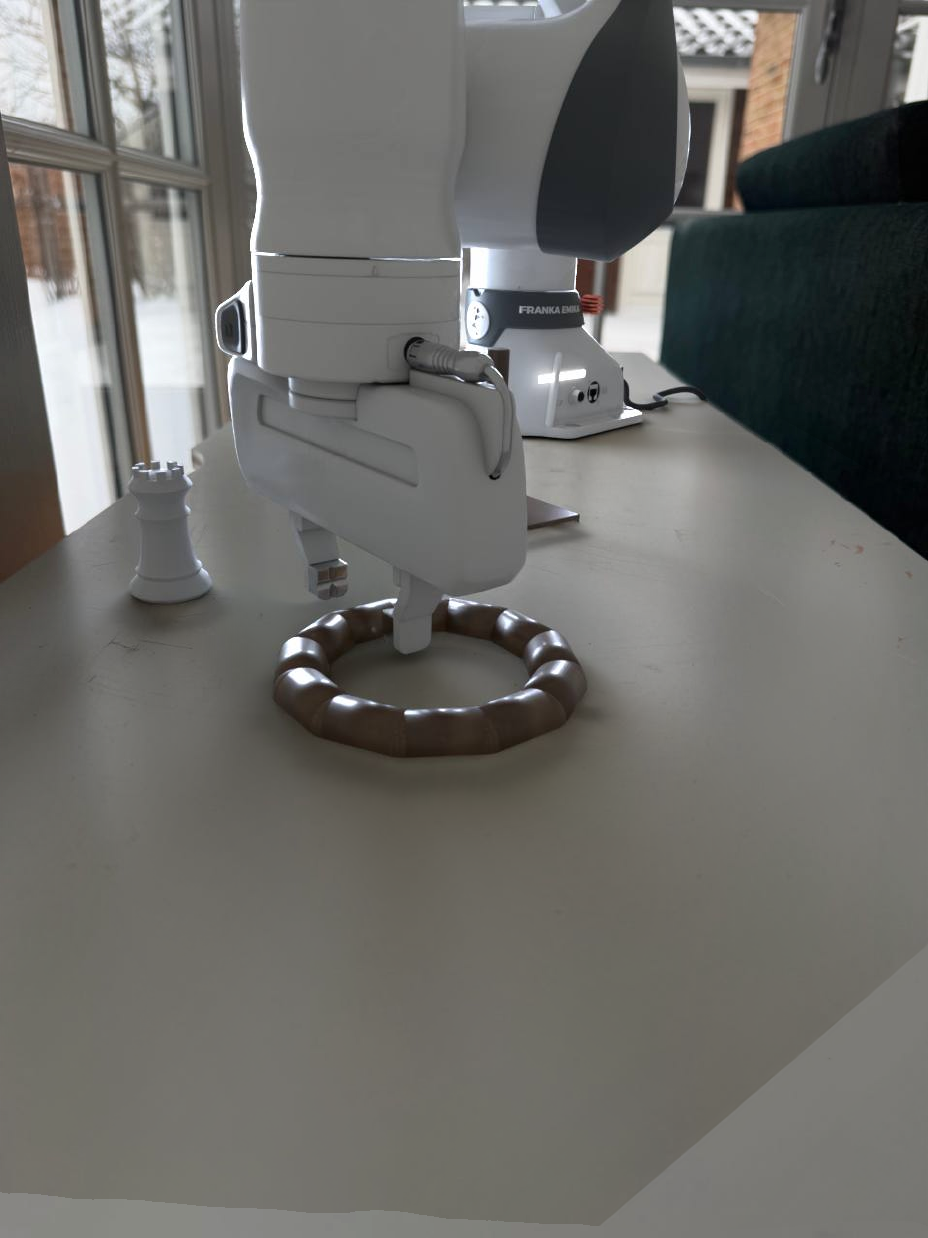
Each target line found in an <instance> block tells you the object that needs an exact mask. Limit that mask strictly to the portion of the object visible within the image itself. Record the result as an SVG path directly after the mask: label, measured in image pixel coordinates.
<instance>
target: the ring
mask: <svg viewBox="0 0 928 1238" xmlns="http://www.w3.org/2000/svg"><path fill="white" fill-rule="evenodd" d="M396 601H397V598H385V599H384V598H383V599H381V600H376V601H373V602H369V603H365V604H361V605H356V606H352V607H349V608H345V609H340V610H336V611H332V612H328V613H326V614H325V615H323V616H321V617H320V618H318V619H317V620H315V621H314V622H313V623H311V624H310V625H308V626H307V627H306V628H304V629H302V630H301V631H300V632H298V633H296V634H295V635H293V636H292V637H291V638H290V639H288V640H286V642H284V644H283V645H281V647H280V650H278V655H277V659H276V666H275V673H274V677H273V678H274V679H273V686H272V699H273V700H274V702H275V703H277V705H279V706H280V707H281V708H282V709H283V710H284V711H285V712H287V713H288V714H289V715H290V716H291V717H292V718H293V719H294V720H295V721H297V722H298V723H299V724H300V725H301V726H302V727H303V728H304V729H305V730H306V731H307V732H309V733H310V734H311V735H313V736H314V737H316V738H320V739H322V740H327V741H332V742H334V743H338V744H342V745H346V746H349V747H353V748H357V749H361V750H365V751H369V752H373V753H376V754H380V755H383V756H387V757H391V758H398V759H411V758H412V759H413V758H415V759H417V758H436V757H457V756H458V757H461V756H462V757H463V756H482V755H483V756H484V755H492V754H498V753H500V752H502V751H505V750H507V749H511V748H513V747H516V746H518V745H520V744H522V743H523V744H524V743H525V742H527V741H528V742H529V741H531V740H533V739H536V738H538V737H540V736H543V735H546V734H548V733H551V732H553V731H555V730H558V729H560V728H562V727H564V725H565V724H566V723H567V722H568V720H569V719H570V718H571V715H572V714H573V712H574V711H575V709H576V708H577V706H578V704H579V703H580V701H581V700H582V698H583V697H584V695H585V693H586V692H587V690H588V680H587V677H586V673H585V671H584V669H583V668H582V666H581V664H580V662H579V660H578V658H577V656H576V655H575V653H574V651H573V649H572V647H571V645H570V644H569V642H568V640H567V639H566V637H565V636H563V634H561V633H560V632H559V631H557V630H554V629H552V628H550V627H548V626H547V625H545V624H543V623H541V622H539V621H537V620H536V619H533V618H531V617H529V616H528V615H525V614H523V613H522V612H519V611H517V610H515V609H512V608H509V607H503V606H498V605H493V604H487V603H482V602H477V601H472V600H467V599H461V598H457V597H442V598H441V600H440V602H439V604H438V606H437V607H436V609H435V611H434V613H432V624H431V633H444V632H446V633H450V634H455V635H460V636H465V637H470V638H475V639H479V640H485V641H489V642H491V643H493V644H495V645H496V646H499V647H501V648H502V649H504V650H506V651H508V652H509V653H510V654H513V655H514V656H516V657H518V658H519V659H521V660H522V661H523V665H524V667H525V669H526V671H527V674H528V676H529V680H528V681H527V682H526V683H525V684H524V686H522V689H521V690H520V691H517V692H514V693H511V694H507V695H506V696H502V697H500V698H497V699H494V700H490V701H489V702H485V703H483V704H480V705H477V706H466V707H465V706H463V707H462V706H461V707H437V708H436V707H434V708H409V709H408V708H403V707H400V706H399V707H398V706H395V705H390V704H386V703H382V702H379V701H374V700H370V699H366V698H361V697H359V696H354V695H350V694H349V693H347V692H346V690H344V689H342V688H341V687H340V686H338V685H337V684H336V683H335V682H333V681H332V680H331V679H330V677H331V664H333V663H334V662H335V661H337V660H338V659H339V658H341V656H343V655H344V654H345V653H346V652H347V653H348V651H349V650H351V649H352V648H353V647H354V646H356V645H359V644H362V643H366V642H369V641H373V640H376V639H381V638H383V630H384V627H383V624H382V611H383V610H387V609H390V608H394V607H395V604H396Z"/></svg>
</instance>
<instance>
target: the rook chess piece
mask: <svg viewBox="0 0 928 1238" xmlns="http://www.w3.org/2000/svg"><path fill="white" fill-rule="evenodd" d="M149 463H150V465H149V466H150V469H148V470H147V468H146V463H144V462H139V463H135V464H134V466H132V467H131V470H132V471H131V472H132V476H131V478H130V480H129V481H128V483H126V484H127V485H126V488H127V490H128V492H130V493H131V494H132V495H133V496H134V498H135V499H136V500H137V503H138V508H137V510H136V511H135V513H134V515H135V517H136V519H138V520H139V527H140V556H139V562H138V565H137V566H136V567H135V571H136V574H135V576H134V577H132V579H131V580H130V582H129V592H130V595H132V596H133V597H134V598H136V599H138V600H139V601H140V602H145V603H150V604H158V605H159V604H161V605H162V604H164V605H165V604H168V605H169V604H176V603H177V604H178V603H185V602H189V601H192V600H195V599H198V598H200V597H201V596H203V595H205V594H207V593H208V591H209V590H210V588H211V587H212V585H213V582H212V579H211V577H210V575H209V573H208V571H207V570H206V569H204V568H203V563H202V562H201V560H199V559H198V558H197V555H196V553H195V549H194V545H193V541H192V537H191V534H190V533H191V532H190V529H189V515H190V514H191V512H192V510H191V509H190V508H189V506H187V504H186V503H187V502H186V495H187V493H188V492H189V491H190V489H191V488H192V486H193V485H194V484H193V482H192V480H191V479H190V478H189V477H188V476H187V475H186V474H185V469H184V464H183V463H178V461H175V460H168V461H166V468H161V460H150V461H149Z"/></svg>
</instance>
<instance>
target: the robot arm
mask: <svg viewBox="0 0 928 1238" xmlns="http://www.w3.org/2000/svg"><path fill="white" fill-rule="evenodd" d="M536 1H537V2H538V4H536V5H494V4H493V5H492V4H491V5H490V4H489V5H487V4H486V5H484V4H482V5H481V4H478V5H477V4H471V5H470V4H469V5H468V4H467V5H465V0H239V63H240V66H239V67H240V93H241V109H242V110H241V111H242V112H241V113H242V126H243V134H244V139H245V142H246V146H247V149H248V152H249V155H250V158H251V161H252V165H253V168H254V173H255V174H254V175H255V179H256V192H257V199H256V211H255V218H254V222H253V227H252V231H251V237H250V252H251V253H250V254H251V257H250V258H251V270H252V271H251V275H252V279H251V280H249V281H247V282H246V283H245V284H244V286H243V287H242V288H241V289H240V290H239V291H237V293H236V294H234V295H233V296H231V297H230V298H229V299H226V301H224V302H223V303H221V304H219V306H218V307H217V309H216V311H215V331H216V332H215V333H216V340H217V345H218V347H219V349H220V350H221V351H222V352H223V353H226V354H228V355H231V356H232V358H231V359H230V362H229V363H228V370H227V385H228V399H229V407H230V408H229V409H230V417H231V426H232V432H233V433H232V434H233V441H234V449H235V453H236V459H237V463H238V466H239V470H240V471H241V474H242V477H243V478H244V482H245V483H246V485H247V487H248V488H249V489H250V490H251V491H254V492H255V493H258V494H259V495H261V496H263V497H265V498H267V499H269V500H270V501H273V502H275V503H276V504H278V505H280V506H281V507H283V508H286V509H287V510H288V513H289V515H288V516H289V528H290V530H291V533H292V535H293V538H294V541H295V545H296V547H297V549H298V552H299V555H300V558H301V560H302V562H303V573H304V574H303V575H304V587H305V590H306V591H308V592H309V593H311V594H312V595H313V596H315V597H317V598H318V599H320V600H321V601H328V600H331V599H335V598H340V597H344V595H346V594H347V591H348V589H349V582H348V580H347V578H348V576H349V575H348V563H347V562H345V561H344V560H342V559H341V557H340V553H339V548H338V543H337V539H336V537H339V538H340V539H343V540H344V541H346V542H348V543H350V544H352V545H354V546H356V547H358V548H359V549H361V550H363V551H365V552H367V553H369V554H371V555H372V556H374V557H376V558H378V559H379V560H381V561H384V562H385V563H386V564H389V565H391V566H392V582H393V584H394V586H396V587H397V588H400V589H399V592H398V595H397V598H396V599H397V601H396V604H395V607H394V608H390V609H387V610H383V611H382V624H383V627H384V630H383V637H382V639H383V641H384V642H385V643H386V644H388V645H389V646H391V647H392V648H393V649H395V650H397V652H399V653H400V654H403V655H409V654H413V653H416V652H419V651H420V652H421V651H423V650H425V649H426V648H428V646H429V645H430V644H431V642H432V632H431V624H432V613H434V611H435V609H436V607H437V606H438V604H439V602H440V600H441V598H444V595H447V596H449V597H451V598H459V597H465V596H469V595H474V594H477V593H478V594H479V593H482V592H483V593H484V592H486V591H489V590H490V591H491V590H493V589H497V588H500V587H503V586H505V585H508V584H511V583H512V581H514V579H515V578H516V577H517V576H518V575H519V573H520V572H521V570H522V569H523V568H524V566H525V565H526V560H527V555H528V554H527V553H528V531H527V496H528V495H527V477H526V475H527V474H526V463H525V451H524V450H525V449H524V443H523V442H524V441H523V437H522V436H528V437H529V436H531V437H533V436H534V437H547V438H554V439H567V440H568V439H570V440H571V439H577V438H582V437H586V436H589V435H594V434H598V433H603V432H606V431H611V430H614V429H619V428H622V427H627V426H631V425H635V424H639V423H642V422H643V421H644V419H643V417H644V414H643V413H642V412H641V411H640V410H643V411H644V410H645V411H646V410H647V411H650V410H654V409H658V408H662V407H666V406H668V404H669V401H668V399H667V398H666V397H667V396H671V395H675V394H681V393H682V394H683V393H687V394H693V395H695V396H696V397H698V398H699V400H708V398H707V396H706V394H705V392H703V391H702V390H701V389H699V388H697V387H695V386H687V385H685V386H684V385H683V386H676V387H672V388H668V389H665V390H661V391H658V392H655V393H653V394H652V399H653V401H654V402H648V403H636V402H634V401H632V400H631V399H630V385H629V383H628V382H627V380H626V379H625V378H624V366H622V365H620V363H618V361H617V360H616V359H615V358H614V357H613V356H612V355H610V354H609V352H608V351H607V350H606V348H604V347H603V346H602V345H601V344H600V343H599V342H598V341H597V340H596V339H595V338H594V336H592V335H591V334H590V333H589V332H588V330H587V329H586V328H585V327H584V326H585V324H586V322H585V317H584V314H585V315H587V314H590V315H593V316H598V315H600V314H601V313H602V311H603V310H604V308H603V307H604V306H605V304H604V302H605V301H604V300H603V297H602V295H598V294H594V295H591V294H589V293H588V294H587V293H586V294H584V295H583V296H582V297H580V295H579V291H577V289H576V281H577V280H576V278H577V277H576V276H577V268H578V267H577V265H578V259H579V260H580V259H581V260H588V261H593V262H594V261H595V262H601V263H611V262H613V261H615V260H616V259H618V258H620V257H621V256H622V255H624V254H626V253H628V252H629V251H630V250H632V249H633V248H635V247H636V246H637V245H639V244H640V243H641V242H643V241H644V240H645V239H647V238H648V237H649V236H650V235H651V234H652V233H654V232H655V231H656V230H657V229H658V228H660V226H661V225H663V224H664V222H666V221H667V220H668V219H669V218H670V217H671V216H672V214H673V213H674V205H675V203H676V201H677V199H678V197H679V194H680V192H681V189H682V187H683V183H684V179H685V174H686V171H687V165H688V159H689V153H690V152H689V151H690V141H691V140H690V138H691V113H690V112H691V111H690V101H689V100H690V99H689V94H688V93H689V92H688V87H687V82H686V76H685V71H684V69H683V64H682V60H681V56H680V53H679V49H678V45H677V33H676V32H677V31H676V24H675V14H674V7H673V6H674V5H673V0H536ZM463 249H470V273H469V286H467V287H466V288H465V298H464V299H465V301H464V327H465V335H466V343H465V349H462V350H461V329H462V328H461V326H462V323H461V322H462V282H463V279H462V278H463ZM490 347H502V348H508V349H510V359H509V380H508V387H507V385H506V383H505V381H504V379H503V378H502V376H501V375H500V374H499V372H498V371H497V370H496V369H495V366H494V362H493V360H492V359H491V358H490V357H489V356H487V355H486V348H490ZM488 380H491V381H492V383H493V385H492V384H487V383H485V382H486V381H488ZM526 495H527V496H526Z"/></svg>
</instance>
